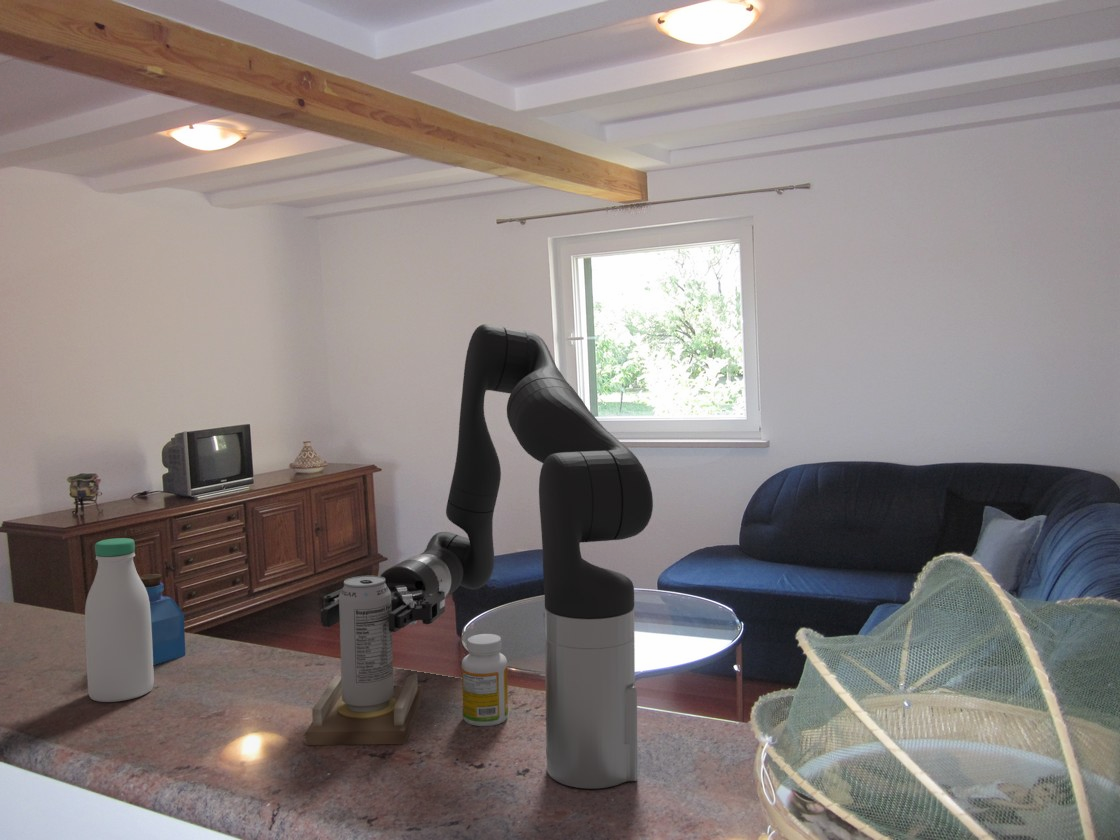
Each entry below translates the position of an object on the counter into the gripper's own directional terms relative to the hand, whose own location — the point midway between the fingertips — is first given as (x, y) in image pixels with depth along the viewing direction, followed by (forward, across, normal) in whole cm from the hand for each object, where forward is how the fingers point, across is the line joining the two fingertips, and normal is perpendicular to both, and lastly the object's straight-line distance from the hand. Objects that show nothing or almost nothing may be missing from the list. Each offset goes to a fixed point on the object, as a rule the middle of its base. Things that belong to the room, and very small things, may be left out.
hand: (357, 621), depth 106 cm
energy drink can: (-2, 0, +11) cm, 11 cm away
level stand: (-2, 0, +12) cm, 13 cm away
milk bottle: (-3, -35, +13) cm, 38 cm away
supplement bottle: (-6, +14, +13) cm, 19 cm away
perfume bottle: (-16, -41, +13) cm, 46 cm away
